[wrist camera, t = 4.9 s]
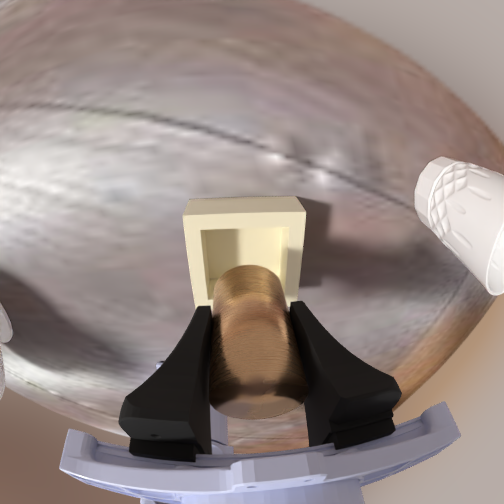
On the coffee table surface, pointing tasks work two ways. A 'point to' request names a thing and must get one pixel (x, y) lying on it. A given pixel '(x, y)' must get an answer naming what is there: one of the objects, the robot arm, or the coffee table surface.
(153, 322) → the coffee table surface
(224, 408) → the brown cylinder
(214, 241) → the cream square tray
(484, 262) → the white cup
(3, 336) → the decorative vase
